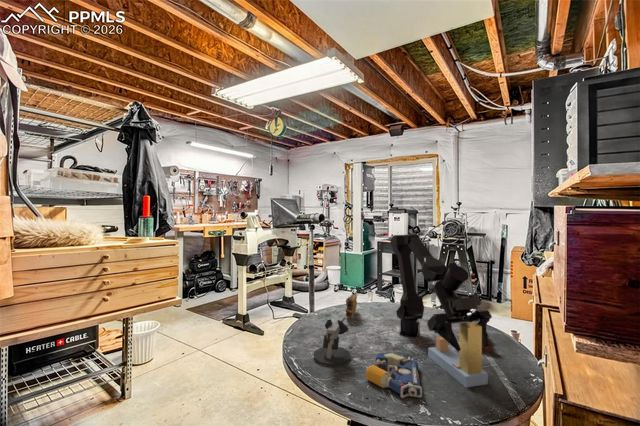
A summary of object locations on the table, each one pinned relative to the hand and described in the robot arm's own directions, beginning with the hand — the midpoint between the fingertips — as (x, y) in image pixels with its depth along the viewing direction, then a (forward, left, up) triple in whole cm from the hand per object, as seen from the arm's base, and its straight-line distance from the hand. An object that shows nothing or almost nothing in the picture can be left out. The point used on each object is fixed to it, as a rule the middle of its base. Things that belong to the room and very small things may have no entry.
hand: (473, 348), depth 85 cm
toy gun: (-21, -8, -10) cm, 24 cm away
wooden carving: (-52, +32, -10) cm, 62 cm away
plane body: (-5, +6, -10) cm, 12 cm away
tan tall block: (-1, +1, -7) cm, 7 cm away
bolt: (+1, +30, -10) cm, 32 cm away
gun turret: (-42, -4, -10) cm, 44 cm away
